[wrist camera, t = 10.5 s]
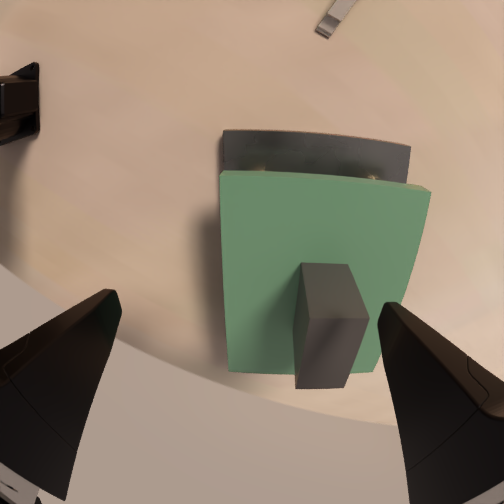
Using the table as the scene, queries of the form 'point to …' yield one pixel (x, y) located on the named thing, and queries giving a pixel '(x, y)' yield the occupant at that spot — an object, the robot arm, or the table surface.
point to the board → (312, 235)
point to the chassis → (315, 154)
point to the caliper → (334, 16)
